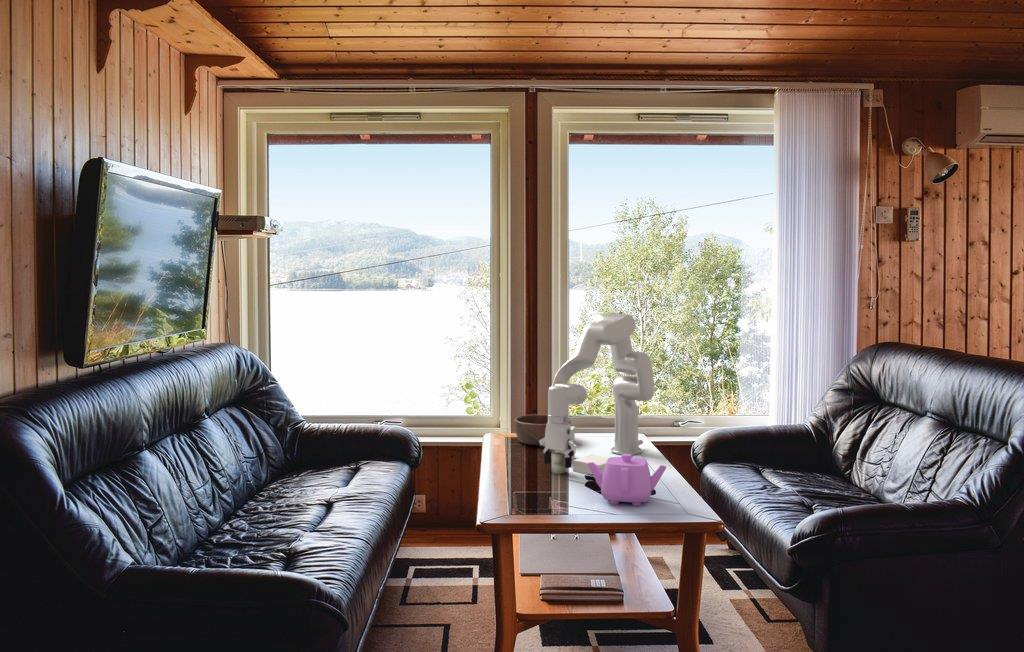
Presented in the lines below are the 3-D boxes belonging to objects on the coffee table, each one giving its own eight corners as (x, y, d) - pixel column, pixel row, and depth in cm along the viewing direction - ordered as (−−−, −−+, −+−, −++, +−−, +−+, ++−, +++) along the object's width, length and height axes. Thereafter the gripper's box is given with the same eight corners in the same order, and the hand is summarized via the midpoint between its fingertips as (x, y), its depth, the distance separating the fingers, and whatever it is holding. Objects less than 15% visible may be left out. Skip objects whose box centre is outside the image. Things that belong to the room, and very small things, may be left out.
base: (591, 464, 287) (591, 454, 287) (618, 470, 279) (618, 459, 279) (573, 470, 278) (573, 460, 278) (599, 476, 270) (599, 465, 270)
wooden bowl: (518, 435, 344) (517, 413, 343) (572, 436, 340) (572, 414, 340) (510, 447, 319) (510, 423, 318) (568, 449, 316) (568, 424, 315)
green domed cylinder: (557, 469, 280) (557, 451, 280) (567, 472, 277) (567, 453, 276) (548, 472, 276) (548, 453, 276) (559, 474, 273) (559, 455, 273)
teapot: (668, 502, 238) (668, 456, 237) (626, 513, 227) (626, 464, 226) (626, 489, 253) (626, 445, 253) (585, 498, 243) (585, 452, 242)
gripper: (583, 421, 272) (582, 467, 273) (546, 415, 284) (546, 460, 285) (570, 423, 267) (570, 471, 268) (533, 418, 278) (533, 463, 279)
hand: (557, 465), depth 276 cm, fingers open, 9 cm apart
